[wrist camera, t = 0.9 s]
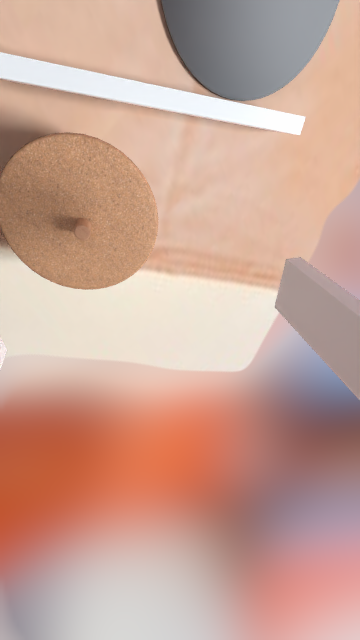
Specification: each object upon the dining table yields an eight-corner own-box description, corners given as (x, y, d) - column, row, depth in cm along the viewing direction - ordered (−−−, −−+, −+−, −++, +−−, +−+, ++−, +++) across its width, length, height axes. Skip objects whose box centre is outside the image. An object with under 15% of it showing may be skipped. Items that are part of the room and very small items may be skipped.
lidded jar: (87, 271, 30) (84, 324, 23) (-8, 185, 23) (-56, 219, 16) (167, 207, 28) (191, 243, 21) (85, 92, 21) (79, 85, 14)
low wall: (9, 81, 20) (-8, 76, 17) (5, 58, 19) (-13, 49, 16) (275, 131, 26) (299, 134, 23) (280, 115, 25) (305, 117, 22)
